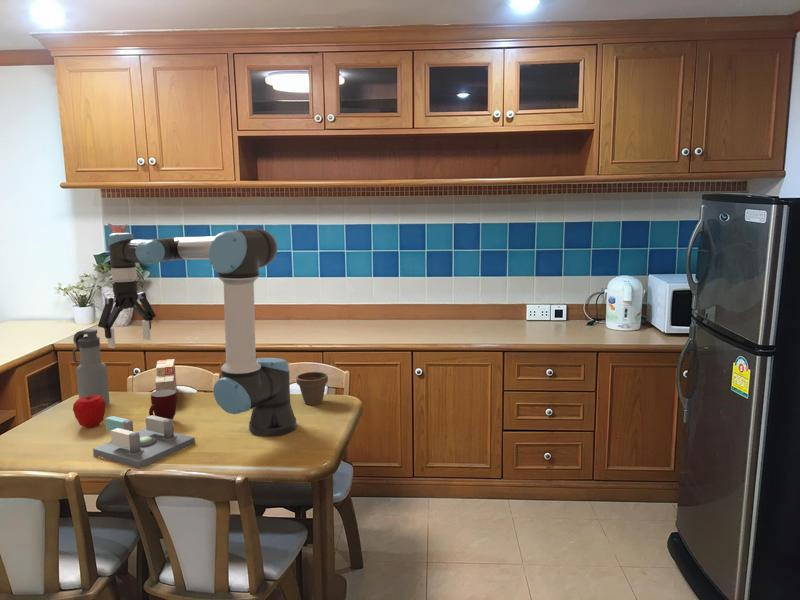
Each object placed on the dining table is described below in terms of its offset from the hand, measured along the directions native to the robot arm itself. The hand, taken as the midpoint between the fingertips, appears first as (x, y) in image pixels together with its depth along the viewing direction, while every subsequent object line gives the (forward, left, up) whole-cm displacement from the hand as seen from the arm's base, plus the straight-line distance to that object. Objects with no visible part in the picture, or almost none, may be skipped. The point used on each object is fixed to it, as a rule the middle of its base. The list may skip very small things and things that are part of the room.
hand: (129, 343), depth 207 cm
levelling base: (-24, +16, -26) cm, 40 cm away
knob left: (-24, +22, -24) cm, 41 cm away
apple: (+8, +11, -27) cm, 30 cm away
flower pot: (-43, -42, -27) cm, 66 cm away
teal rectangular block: (-14, +16, -24) cm, 32 cm away
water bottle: (+26, -3, -27) cm, 37 cm away
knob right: (-24, +10, -24) cm, 36 cm away
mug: (-11, -2, -27) cm, 29 cm away
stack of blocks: (+10, -21, -27) cm, 36 cm away
